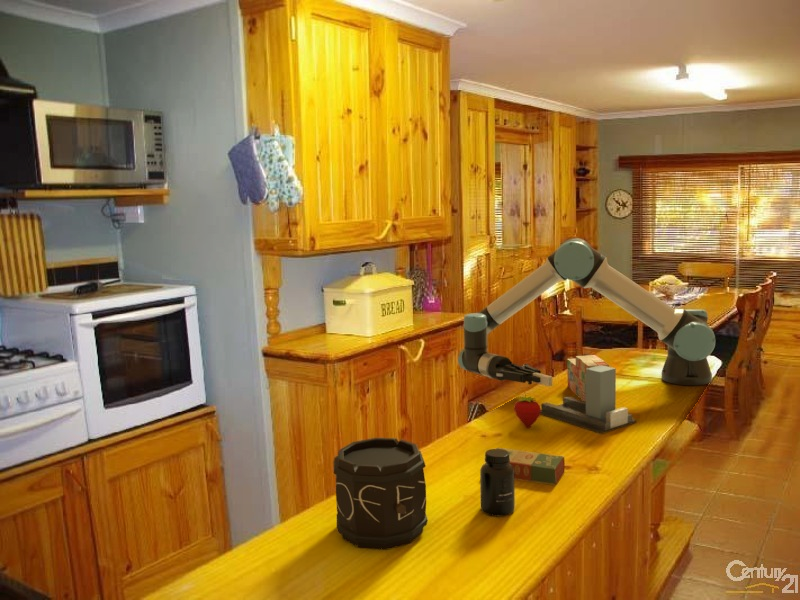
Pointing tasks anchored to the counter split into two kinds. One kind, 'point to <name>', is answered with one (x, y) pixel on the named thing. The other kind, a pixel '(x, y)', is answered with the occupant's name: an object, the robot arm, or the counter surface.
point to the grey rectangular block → (600, 391)
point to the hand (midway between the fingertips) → (550, 381)
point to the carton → (536, 466)
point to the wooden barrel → (380, 493)
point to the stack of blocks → (581, 372)
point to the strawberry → (527, 410)
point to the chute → (576, 415)
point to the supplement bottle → (497, 483)
